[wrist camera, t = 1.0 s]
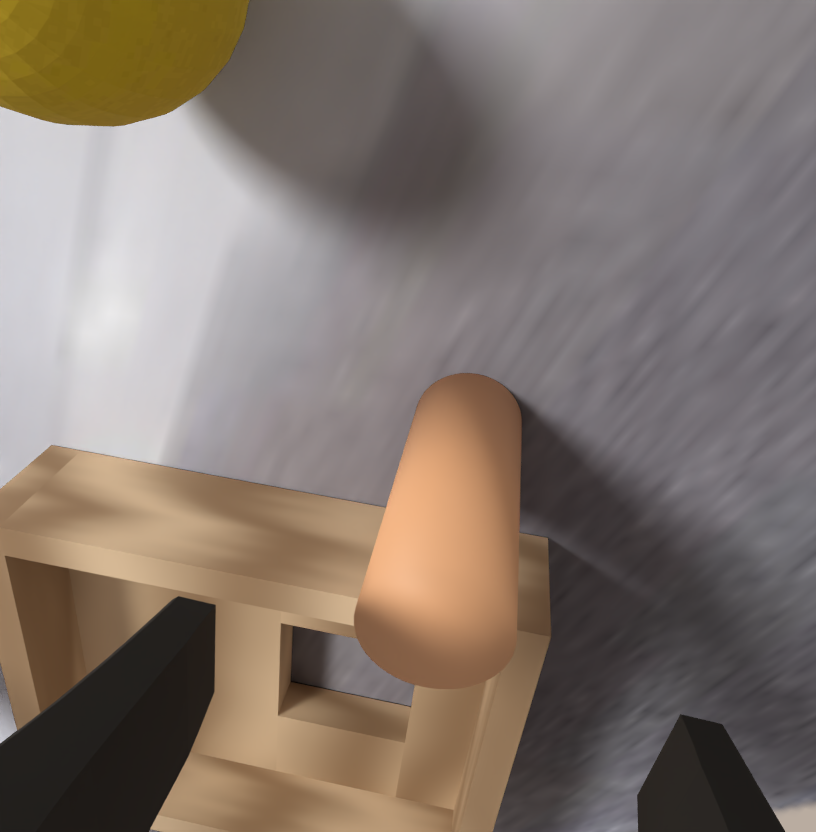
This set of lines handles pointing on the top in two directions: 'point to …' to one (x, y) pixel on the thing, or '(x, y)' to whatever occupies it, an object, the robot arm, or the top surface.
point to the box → (253, 645)
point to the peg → (449, 542)
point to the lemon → (112, 56)
